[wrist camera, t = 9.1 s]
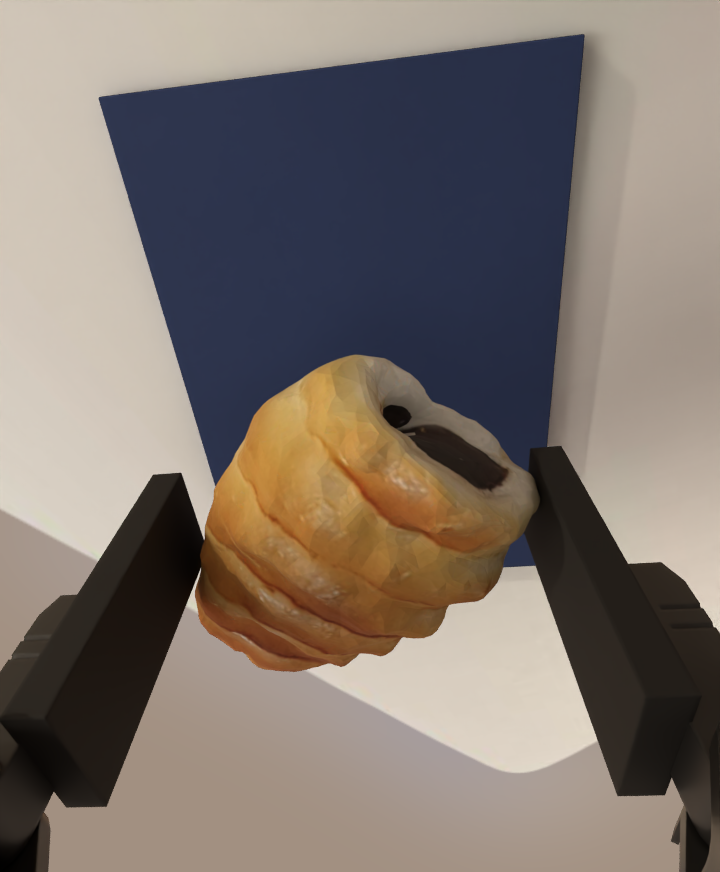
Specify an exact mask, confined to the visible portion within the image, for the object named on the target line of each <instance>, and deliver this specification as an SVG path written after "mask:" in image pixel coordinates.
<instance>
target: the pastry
mask: <svg viewBox="0 0 720 872" xmlns="http://www.w3.org/2000/svg"><path fill="white" fill-rule="evenodd" d="M539 504H540V495H539V493H538V490H537V486H536V483H535V479H534V477H533V476H532V475H531V474H530V473H529V472H527V471H525V470H524V469H522V468H521V467H519V466H517V465H516V464H514V463H513V462H512V461H511V460H510V458H509V457H508V455H507V454H506V453H505V451H504V450H503V449H502V448H501V446H500V444H499V442H498V440H497V439H496V438H495V437H494V436H493V435H492V434H491V433H490V432H489V431H488V430H486V429H485V428H484V427H482V426H481V425H480V424H479V423H477V422H476V421H475V420H471V419H468V418H466V417H464V416H462V415H460V414H459V413H457V412H456V411H455V410H453V409H450V408H448V407H445V406H443V405H440V404H436V403H434V402H432V401H431V400H430V398H429V397H428V395H427V394H426V392H425V389H424V388H423V386H422V385H421V384H420V383H419V381H418V380H417V379H416V378H414V377H413V376H412V375H411V374H410V373H408V372H406V371H404V370H403V369H401V368H399V367H398V366H396V365H395V364H393V363H392V362H391V361H389V360H387V359H385V358H379V357H371V356H364V355H351V356H347V357H343V358H340V359H337V360H335V361H332V362H329V363H327V364H325V365H323V366H321V367H319V368H317V369H315V370H314V371H312V372H310V373H309V374H307V375H306V376H305V377H303V378H302V379H301V380H299V381H298V382H296V383H294V384H293V385H291V386H289V387H288V388H286V389H285V390H283V391H282V392H280V393H278V394H277V395H275V396H274V397H272V398H271V399H269V400H268V401H266V402H265V403H264V404H263V405H262V406H261V408H260V409H259V410H258V411H257V412H256V414H255V415H254V417H253V419H252V421H251V424H250V427H249V429H248V432H247V434H246V437H245V439H244V441H243V442H242V444H241V445H240V447H239V449H238V450H237V452H236V453H235V456H234V458H233V460H232V462H231V464H230V465H229V467H228V468H227V469H226V471H225V472H224V474H223V475H222V477H221V478H220V480H219V481H218V483H217V485H216V487H215V490H214V500H213V504H212V507H211V509H210V512H209V515H208V518H207V522H206V525H205V540H204V543H203V546H202V549H201V553H200V559H201V573H200V577H199V580H198V583H197V586H196V590H195V598H196V602H197V608H198V613H199V619H200V622H201V624H202V625H203V626H204V627H205V629H206V630H207V631H208V632H209V634H211V635H213V636H215V637H216V638H218V639H220V640H221V641H223V642H224V643H225V644H226V645H228V646H230V647H231V648H232V649H233V650H235V651H239V652H243V653H245V654H246V655H247V657H248V658H249V659H250V660H251V661H252V663H254V664H255V665H256V666H258V667H259V668H262V669H267V670H275V671H290V672H297V671H302V670H307V669H310V668H313V667H318V666H321V665H324V664H327V663H331V664H334V665H337V666H340V667H342V666H345V665H347V664H348V663H349V662H350V661H352V660H353V659H354V658H356V657H357V655H358V654H360V653H366V654H373V655H377V656H384V655H386V654H388V653H389V652H391V651H392V650H393V649H394V647H395V646H396V645H397V643H398V642H399V641H400V639H401V638H402V637H406V638H425V637H428V636H431V635H432V634H434V633H435V632H436V631H437V630H438V628H439V627H440V625H441V623H442V621H443V619H444V617H445V613H446V609H447V608H448V606H449V605H451V604H456V603H465V602H475V601H479V600H481V599H483V598H484V597H485V596H486V595H487V594H488V593H489V592H490V591H491V590H492V589H493V587H494V586H495V585H496V583H497V582H498V580H499V578H500V575H501V572H502V568H503V563H504V559H505V556H506V554H507V552H508V549H509V547H510V544H512V543H513V542H515V541H516V540H517V539H518V538H519V537H520V536H522V534H523V533H524V531H525V529H526V527H527V525H528V523H529V521H530V518H531V516H532V515H533V514H534V513H535V512H536V511H537V509H538V506H539Z"/></svg>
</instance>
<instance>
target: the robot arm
mask: <svg viewBox="0 0 720 872" xmlns="http://www.w3.org/2000/svg"><path fill="white" fill-rule="evenodd" d="M528 472H529V473H530V474H531V475H532V476H533V477H534V479H535V483H536V486H537V490H538V493H539V495H540V504H539V506H538V509H537V511H536V512H535V513H534V514H533V515H532V516H531V518H530V521H529V523H528V525H527V527H526V529H525V531H524V534H525V537H526V540H527V543H528V545H529V548H530V551H531V554H532V557H533V559H534V562H535V565H536V568H537V571H538V574H539V576H540V579H541V582H542V585H543V588H544V590H545V593H546V596H547V599H548V602H549V604H550V607H551V610H552V613H553V616H554V619H555V621H556V624H557V627H558V630H559V633H560V635H561V638H562V641H563V644H564V647H565V649H566V652H567V655H568V658H569V661H570V664H571V666H572V669H573V672H574V675H575V678H576V680H577V683H578V686H579V689H580V692H581V694H582V697H583V700H584V703H585V706H586V709H587V711H588V714H589V717H590V720H591V723H592V725H593V728H594V731H595V734H596V737H597V739H598V742H599V745H600V748H601V750H602V753H603V756H604V759H605V762H606V764H607V768H608V770H609V773H610V776H611V779H612V782H613V784H614V787H615V790H616V793H617V795H618V796H644V795H645V796H648V795H665V794H666V791H667V788H668V786H669V783H670V780H671V778H672V779H673V781H674V783H675V785H676V788H677V790H678V792H679V794H680V797H681V799H682V801H683V803H684V806H683V809H682V811H681V814H680V816H679V818H678V821H677V823H676V826H675V828H674V831H673V835H672V839H671V841H672V842H674V843H676V844H679V843H680V863H679V872H720V633H719V631H718V630H717V629H716V627H713V624H712V621H711V620H710V618H709V617H708V615H707V614H706V612H705V611H704V609H703V608H701V607H700V603H699V602H698V600H697V599H696V597H695V596H694V594H693V593H692V591H691V590H690V588H689V587H688V585H687V584H686V582H685V581H684V580H683V579H682V578H680V577H679V576H678V575H677V574H675V573H674V572H673V571H671V570H670V569H669V568H668V567H666V566H665V565H664V564H663V563H661V562H657V563H638V564H628V563H627V561H626V560H625V558H624V556H623V554H622V552H621V551H620V549H619V547H618V545H617V544H616V542H615V540H614V538H613V537H612V535H611V533H610V531H609V530H608V528H607V526H606V524H605V522H604V521H603V519H602V517H601V515H600V514H599V512H598V510H597V508H596V507H595V505H594V503H593V501H592V499H591V498H590V496H589V494H588V492H587V491H586V489H585V487H584V485H583V484H582V482H581V480H580V478H579V476H578V475H577V473H576V471H575V469H574V468H573V466H572V464H571V462H570V461H569V459H568V457H567V455H566V453H565V452H564V450H563V448H562V446H555V447H540V448H530V454H529V468H528ZM203 543H204V539H203V536H202V533H201V530H200V527H199V524H198V521H197V518H196V515H195V512H194V509H193V506H192V503H191V500H190V497H189V494H188V491H187V488H186V485H185V482H184V479H183V477H182V474H181V473H172V474H158V475H153V476H152V477H151V479H150V481H149V482H148V484H147V485H146V487H145V489H144V490H143V492H142V493H141V495H140V496H139V498H138V500H137V501H136V503H135V504H134V506H133V508H132V509H131V511H130V512H129V514H128V515H127V517H126V519H125V520H124V522H123V523H122V525H121V526H120V528H119V530H118V531H117V533H116V534H115V536H114V538H113V539H112V541H111V542H110V544H109V545H108V547H107V549H106V550H105V552H104V553H103V555H102V557H101V558H100V560H99V561H98V563H97V564H96V566H95V568H94V569H93V571H92V572H91V574H90V576H89V577H88V579H87V580H86V582H85V584H84V585H83V587H82V588H81V590H80V591H79V593H78V594H77V595H63V596H60V597H59V598H58V599H57V600H56V601H55V602H53V603H52V604H51V605H50V606H49V607H48V608H47V609H45V610H44V611H43V612H42V613H41V614H40V615H39V616H38V617H37V619H36V621H35V622H34V623H33V625H32V626H31V628H30V629H29V631H28V632H27V634H26V635H25V636H24V641H22V642H20V644H19V645H18V647H17V648H16V650H15V651H14V653H13V654H12V659H11V660H8V662H7V663H6V664H5V666H4V667H3V669H2V670H1V672H0V872H48V864H49V845H50V825H49V819H48V817H47V816H46V814H45V813H44V810H45V808H46V806H47V804H48V802H49V800H50V798H51V796H52V794H53V792H55V793H56V795H57V796H58V797H59V799H60V800H61V801H62V802H63V804H64V805H65V806H66V807H106V806H107V804H108V801H109V799H110V796H111V794H112V791H113V789H114V786H115V784H116V781H117V779H118V776H119V774H120V771H121V768H122V766H123V764H124V761H125V759H126V756H127V753H128V751H129V748H130V746H131V743H132V741H133V738H134V736H135V733H136V731H137V728H138V725H139V723H140V720H141V717H142V715H143V713H144V710H145V708H146V705H147V703H148V700H149V698H150V695H151V693H152V690H153V687H154V685H155V682H156V680H157V677H158V675H159V672H160V670H161V667H162V665H163V662H164V660H165V657H166V654H167V652H168V649H169V647H170V644H171V642H172V639H173V637H174V634H175V632H176V629H177V627H178V624H179V622H180V619H181V617H182V614H183V611H184V609H185V606H186V604H187V601H188V599H189V596H190V594H191V591H192V589H193V586H194V584H195V581H196V579H197V576H198V573H199V571H200V568H201V559H200V553H201V549H202V546H203Z"/></svg>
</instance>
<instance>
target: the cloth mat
mask: <svg viewBox="0 0 720 872" xmlns="http://www.w3.org/2000/svg"><path fill="white" fill-rule="evenodd" d="M584 37H585V36H584V34H581V35H573V36H565V37H558V38H550V39H542V40H534V41H527V42H519V43H511V44H504V45H496V46H488V47H480V48H473V49H465V50H457V51H450V52H442V53H434V54H427V55H419V56H411V57H403V58H396V59H388V60H380V61H373V62H365V63H357V64H350V65H342V66H334V67H326V68H319V69H311V70H303V71H296V72H288V73H280V74H272V75H265V76H257V77H249V78H242V79H234V80H226V81H219V82H211V83H203V84H195V85H188V86H180V87H172V88H165V89H157V90H149V91H142V92H134V93H126V94H118V95H111V96H103V97H99V101H100V105H101V108H102V111H103V115H104V118H105V121H106V125H107V128H108V131H109V135H110V138H111V141H112V145H113V148H114V151H115V155H116V158H117V161H118V164H119V168H120V171H121V174H122V178H123V181H124V184H125V188H126V191H127V194H128V198H129V201H130V204H131V208H132V211H133V214H134V218H135V221H136V224H137V227H138V231H139V234H140V237H141V241H142V244H143V247H144V251H145V254H146V257H147V261H148V264H149V267H150V271H151V274H152V277H153V281H154V284H155V287H156V291H157V294H158V297H159V300H160V304H161V307H162V310H163V314H164V317H165V320H166V324H167V327H168V330H169V334H170V337H171V340H172V344H173V347H174V350H175V354H176V357H177V360H178V363H179V367H180V370H181V373H182V377H183V380H184V383H185V387H186V390H187V393H188V397H189V400H190V403H191V407H192V410H193V413H194V417H195V420H196V423H197V426H198V430H199V433H200V436H201V440H202V443H203V446H204V450H205V453H206V456H207V460H208V463H209V466H210V470H211V473H212V476H213V480H214V483H215V486H216V485H217V483H218V481H219V480H220V478H221V477H222V475H223V474H224V472H225V471H226V469H227V468H228V467H229V465H230V464H231V462H232V460H233V458H234V456H235V453H236V452H237V450H238V449H239V447H240V445H241V444H242V442H243V441H244V439H245V437H246V434H247V432H248V429H249V427H250V424H251V421H252V419H253V417H254V415H255V414H256V412H257V411H258V410H259V409H260V408H261V406H262V405H263V404H264V403H265V402H266V401H268V400H269V399H271V398H272V397H274V396H275V395H277V394H278V393H280V392H282V391H283V390H285V389H286V388H288V387H289V386H291V385H293V384H294V383H296V382H298V381H299V380H301V379H302V378H303V377H305V376H306V375H307V374H309V373H310V372H312V371H314V370H315V369H317V368H319V367H321V366H323V365H325V364H327V363H329V362H332V361H335V360H337V359H340V358H343V357H347V356H351V355H364V356H371V357H379V358H385V359H387V360H389V361H391V362H392V363H393V364H395V365H396V366H398V367H399V368H401V369H403V370H404V371H406V372H408V373H410V374H411V375H412V376H413V377H414V378H416V379H417V380H418V381H419V383H420V384H421V385H422V386H423V388H424V389H425V392H426V394H427V395H428V397H429V398H430V400H431V401H432V402H434V403H436V404H440V405H443V406H445V407H448V408H450V409H453V410H455V411H456V412H457V413H459V414H460V415H462V416H464V417H466V418H468V419H471V420H475V421H476V422H477V423H479V424H480V425H481V426H482V427H484V428H485V429H486V430H488V431H489V432H490V433H491V434H492V435H493V436H494V437H495V438H496V439H497V440H498V442H499V444H500V446H501V448H502V449H503V450H504V451H505V453H506V454H507V455H508V457H509V458H510V460H511V461H512V462H513V463H514V464H516V465H517V466H519V467H521V468H522V469H524V470H525V471H527V472H528V468H529V454H530V448H540V447H547V439H548V429H549V418H550V407H551V396H552V385H553V374H554V363H555V352H556V342H557V331H558V320H559V309H560V298H561V287H562V276H563V266H564V255H565V244H566V233H567V222H568V211H569V200H570V189H571V179H572V168H573V157H574V146H575V135H576V124H577V113H578V103H579V92H580V81H581V70H582V59H583V48H584ZM518 566H535V562H534V559H533V557H532V554H531V551H530V548H529V545H528V543H527V540H526V537H525V534H524V533H523V534H522V536H520V537H519V538H518V539H517V540H516V541H515V542H513V543H512V544H510V547H509V549H508V552H507V554H506V556H505V559H504V563H503V567H518Z"/></svg>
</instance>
